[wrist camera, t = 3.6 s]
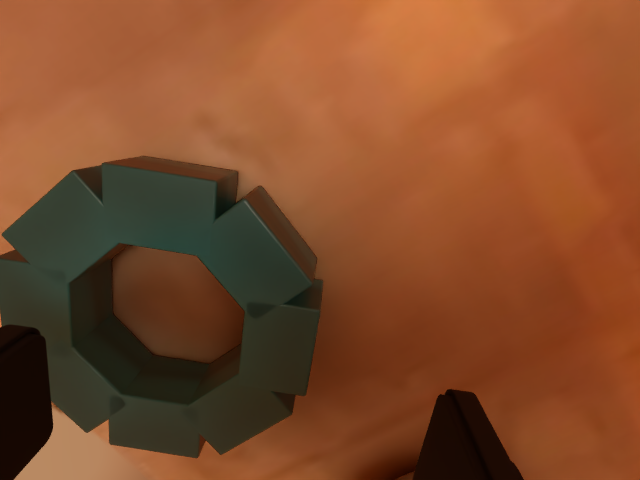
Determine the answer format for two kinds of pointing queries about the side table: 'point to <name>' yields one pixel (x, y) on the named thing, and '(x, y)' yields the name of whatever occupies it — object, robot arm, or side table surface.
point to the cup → (406, 476)
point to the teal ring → (121, 345)
